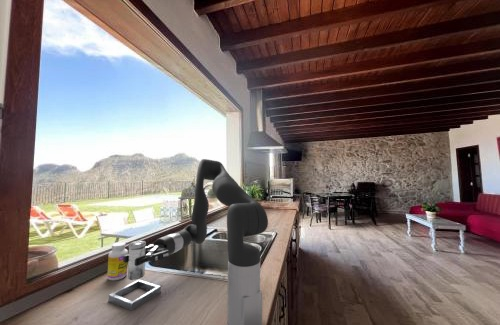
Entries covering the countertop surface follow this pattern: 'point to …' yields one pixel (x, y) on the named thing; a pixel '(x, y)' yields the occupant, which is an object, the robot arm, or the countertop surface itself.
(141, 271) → the lidded metal canister
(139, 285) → the collar
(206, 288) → the countertop surface
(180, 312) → the countertop surface
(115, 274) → the supplement bottle
